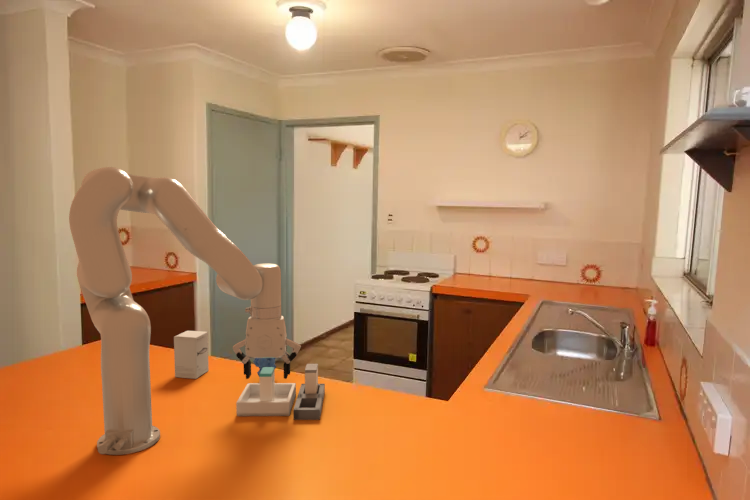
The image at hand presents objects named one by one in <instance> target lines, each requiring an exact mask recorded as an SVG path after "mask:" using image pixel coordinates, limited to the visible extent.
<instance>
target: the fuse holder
mask: <svg viewBox="0 0 750 500" xmlns="http://www.w3.org/2000/svg"><path fill="white" fill-rule="evenodd" d="M325 384H326V383H318V394H305V383H301V385H300V387H299V390H298V393H297V397H296V399H295V403H294V405H293V406H294V407H293V414H292V415H293V420H295V421H296V420H298V421H299V420H302V421H303V420H304V421H305V420H307V421H308V420H310V421H311V420H312V421H314V420H316V421H317V420H319V421H320V420H321V419H320V418H321V414H322V410H323V403H324V398H325V393H326V392H325V391H326V389H325V386H326V385H325Z"/></svg>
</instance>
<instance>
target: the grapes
mask: <svg viewBox="0 0 750 500" xmlns="http://www.w3.org/2000/svg"><path fill="white" fill-rule="evenodd" d="M276 359H277V358H253V360H252V362H253V364H254V365H255V367H256V368H258V371H257V372H256V373H257V375H258V377H259V380H260V372H261V370H262V368H263V367H274V371H275V369H276V368H277V365H276V364H275V363H276Z"/></svg>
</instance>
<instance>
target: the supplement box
mask: <svg viewBox="0 0 750 500" xmlns="http://www.w3.org/2000/svg"><path fill="white" fill-rule="evenodd" d="M208 333H209V331H203V330H201V331H200V330H185V331H184V332H181V333H179V334H177V335H175V336H173V346H174V347H173V351H174V378H182V379H192V380H197V379H198V378H199V377H201V376H202V375H204V374H206V373H208V372H209V370H210V369H209V337H208V336H209V334H208Z"/></svg>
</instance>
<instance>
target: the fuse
mask: <svg viewBox="0 0 750 500" xmlns="http://www.w3.org/2000/svg"><path fill="white" fill-rule="evenodd" d="M304 384H305V394H318V384H319V364H318V363H306V365H305V369H304Z"/></svg>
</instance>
